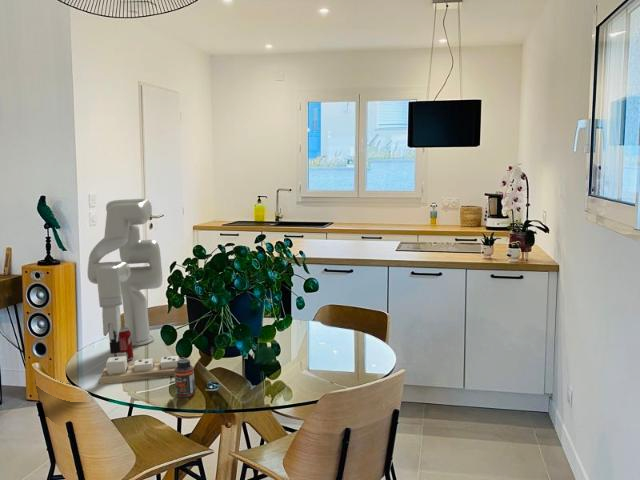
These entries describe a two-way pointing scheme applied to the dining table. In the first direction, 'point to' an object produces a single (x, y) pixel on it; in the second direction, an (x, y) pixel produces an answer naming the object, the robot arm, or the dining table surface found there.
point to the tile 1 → (116, 365)
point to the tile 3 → (169, 362)
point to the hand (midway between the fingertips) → (115, 352)
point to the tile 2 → (143, 365)
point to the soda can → (125, 344)
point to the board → (137, 373)
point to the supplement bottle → (184, 379)
